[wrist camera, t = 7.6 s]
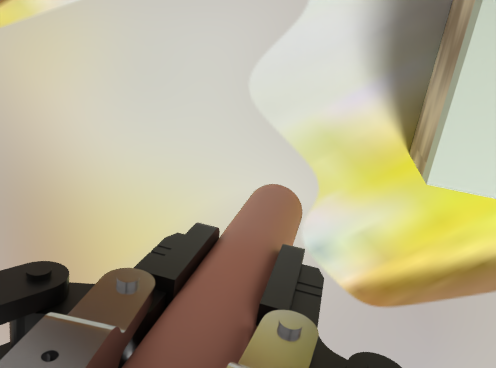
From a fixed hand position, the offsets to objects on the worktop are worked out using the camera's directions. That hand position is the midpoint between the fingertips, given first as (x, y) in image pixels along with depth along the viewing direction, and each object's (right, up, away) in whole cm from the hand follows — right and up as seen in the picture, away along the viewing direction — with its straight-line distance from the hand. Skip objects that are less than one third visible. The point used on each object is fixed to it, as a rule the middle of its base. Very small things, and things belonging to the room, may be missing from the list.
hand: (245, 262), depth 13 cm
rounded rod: (+1, +1, +5) cm, 5 cm away
